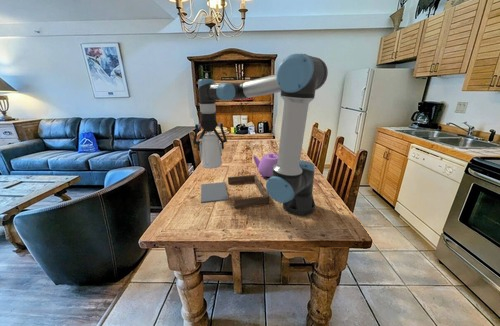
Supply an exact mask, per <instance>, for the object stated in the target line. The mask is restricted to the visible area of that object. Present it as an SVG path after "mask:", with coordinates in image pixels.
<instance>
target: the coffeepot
mask: <svg viewBox="0 0 500 326" xmlns="http://www.w3.org/2000/svg"><path fill="white" fill-rule="evenodd" d="M198 140H199V141H201V142H200V144H201V151H202V157H200V159H201V160H200V162H201V163H200V164H201V167H203V168H204V169H207V170H208V169H209V170H211V169H217V168H220V167H221V166H222V164H223V159H222V156H221V153H220V140H219V138H218V137H217V135H216V134H215V132H213V133H212V132H211V131H209V132H207V133H205V134H204V136H203V137H202V139H199V138H198Z"/></svg>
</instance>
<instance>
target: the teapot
mask: <svg viewBox="0 0 500 326" xmlns="http://www.w3.org/2000/svg"><path fill="white" fill-rule="evenodd" d="M252 157H253V161H254V163H255V166H256V168H257V171H258V173H259V175H261V176H260V178H263V179H264V178H268V177H269V178H270V177H272V172H273V166H274V165H275V164H277V162H278V154H277V153H276V152H274V153H272V152H269V153H268V154H267V153H266V154H264V155H263V156H262V157H261V158H260V159H259V158H258V157H257V155H253V156H252Z"/></svg>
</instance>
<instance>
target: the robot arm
mask: <svg viewBox="0 0 500 326" xmlns="http://www.w3.org/2000/svg"><path fill="white" fill-rule="evenodd" d="M328 74H329V69H328V66H327V65H326V62H325V61H323V60H322V59H321V58H320V57H315V56H312V55H308V54H307V53H292V54H290V55H288V56H286V57H285V58H284V59H283V60H282V61H280V64H279V65H278V68H277V72H276V74H271V75H267V76H263V77H259V78H256V79H251V80H247V81H243V82H239V83H233V82H218V83H215V81H214V79H211V78H204V79H203V78H201V79H198V80H197V81H198V82H197V83H198V84H197V85H198V88H197V89H198V98H199V99H198V100H199V110H200V111H199V112H200V120H201V121H200V123H195V125H194V127H195V128H194V129H195V130H194V131H195V132H194V136H193V144H194V145H196V147H197V148H196V149H197V151H198V152H199V153H200V158H201V157H202V151H201V141H199V139H202V137H203V136H204V134H206V133H208V132H209V131H211V133H212V132H213V133H214V134H216V135H217V137H218V138H219V144H220V153H221V157H222V156H223V150H225V149H224V148H225V143H227V142H228V140H227V136H226V134H225V133H226V132H225V130H224V124H223V123H222V122H217V113H216V112H217V111H216V110H217V109H216V108H217V107H216V101H222V102H226V101H227V102H228V101H236V100H247V99H249V98H254V97H255V98H256V97H261V96H266V95H267V96H268V95H273V94H278V93H280V97H281V99H282V100H283V102H284V103H283V111H282V120H281V128H280V138H279V144H278V145H279V146H278V154H277V155H278V162H277V164H275V165H274V166H273V172H272V177H269V178H268V179H267V180H266V183H265V188H266V189H265V190H266V192H267V194H268V195H269V197H270V199H272V200H274V201H275V202H277V203H278V204H279V203H280V204H282V208H283V210H284V212H287V213H289V214H291V215H294V216H308V215H312V214H313V213H314V212H315V210H316V202H315V199H314V195H313V191H314V180H315V179H314V178H315V172H316V171H315V164H314V163H312V162H311V161H307V160H302V159H301V157H302V150H303V143H304V138H305V132H306V131H305V130H306V124H307V118H308V117H307V116H308V111H309V104H310V103H311V102H312V101H313V100H314V99H315V96H316V91H317V90H318V89H320V88H321V87H322V86H323V85H325V83H326V81H327V78H328V76H329V75H328ZM200 127H201V128H202V132H201V134H200V136H199V138H198V140H197V137H198V134H199V133H198V132H199V129H201V128H200ZM217 127H218V128H220V131H221V134H222V136H221V135H220V134H219V132H218V131H217ZM222 137H223V138H222Z"/></svg>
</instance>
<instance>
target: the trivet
mask: <svg viewBox="0 0 500 326" xmlns="http://www.w3.org/2000/svg"><path fill="white" fill-rule="evenodd" d="M228 195H229V193H228V191H227V187H226V182H223V181H222V182H212V183H210V182H209V183H201V185H200V203H201V204H202V203H204V204H205V203H211V202H221V201H229V196H228Z"/></svg>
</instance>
